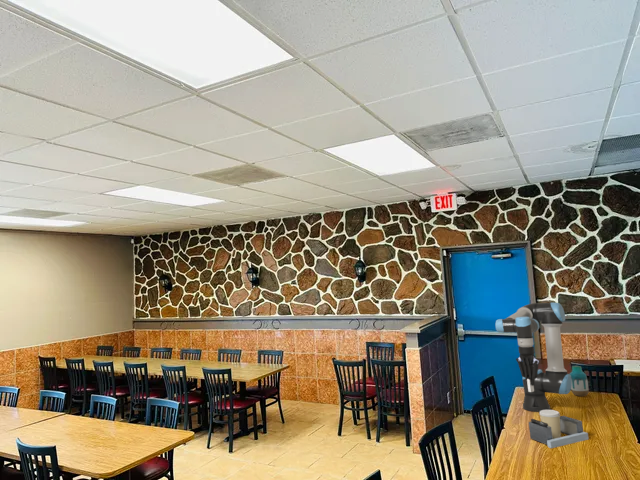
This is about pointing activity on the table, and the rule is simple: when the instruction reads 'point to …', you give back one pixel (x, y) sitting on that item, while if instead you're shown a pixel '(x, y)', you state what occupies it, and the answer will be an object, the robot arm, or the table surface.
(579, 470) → the table surface
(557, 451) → the table surface
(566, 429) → the block
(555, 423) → the coffee cup
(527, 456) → the table surface
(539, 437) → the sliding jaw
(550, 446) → the back rail
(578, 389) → the vase
